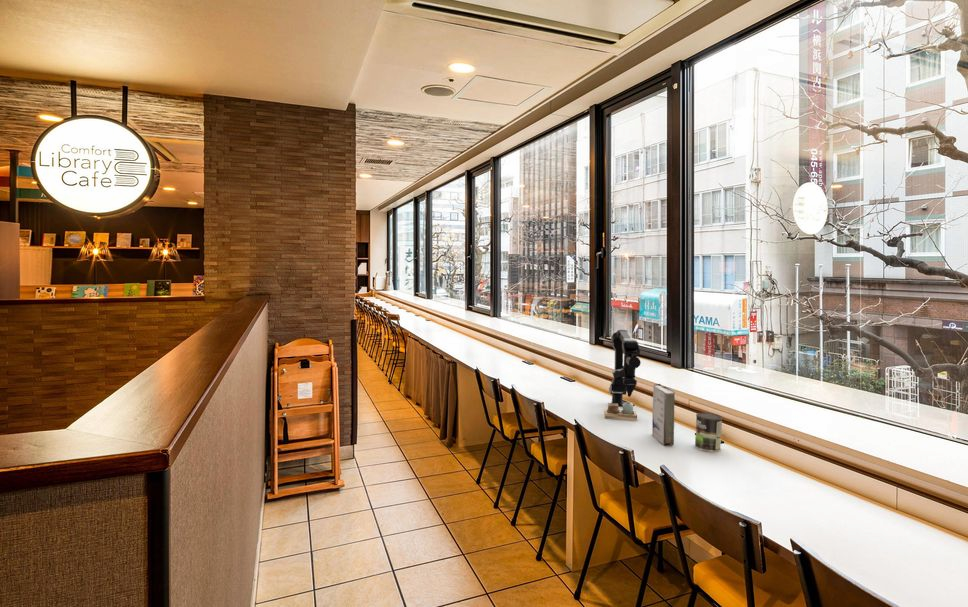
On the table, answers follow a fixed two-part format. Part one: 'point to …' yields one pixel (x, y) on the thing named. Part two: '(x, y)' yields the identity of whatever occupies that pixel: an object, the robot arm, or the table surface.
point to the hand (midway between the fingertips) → (628, 394)
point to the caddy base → (620, 415)
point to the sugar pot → (628, 408)
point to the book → (663, 414)
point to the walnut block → (613, 408)
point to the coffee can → (708, 432)
